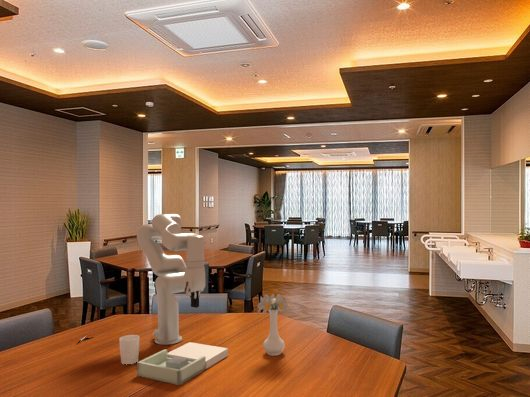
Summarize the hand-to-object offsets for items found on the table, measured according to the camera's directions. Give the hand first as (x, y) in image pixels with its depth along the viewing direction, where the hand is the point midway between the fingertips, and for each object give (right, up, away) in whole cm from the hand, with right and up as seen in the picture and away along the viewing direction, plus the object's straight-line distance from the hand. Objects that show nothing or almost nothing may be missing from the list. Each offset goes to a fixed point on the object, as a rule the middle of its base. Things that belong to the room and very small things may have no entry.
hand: (194, 306), depth 182 cm
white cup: (-25, -21, -8) cm, 34 cm away
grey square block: (-4, -19, -17) cm, 26 cm away
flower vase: (+34, -20, +1) cm, 39 cm away
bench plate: (+2, -20, -5) cm, 21 cm away
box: (-6, -20, -19) cm, 28 cm away
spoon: (-57, -22, +18) cm, 64 cm away
